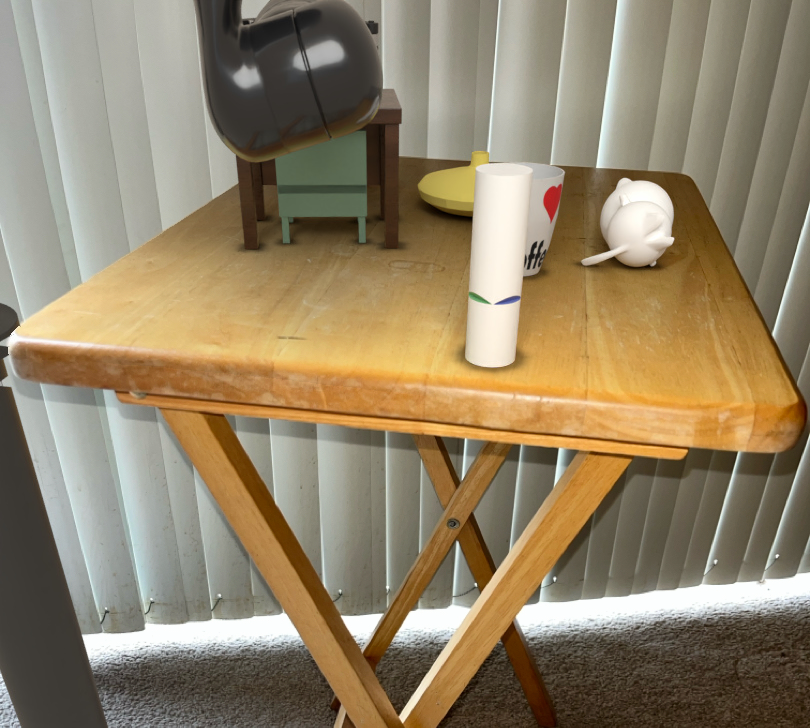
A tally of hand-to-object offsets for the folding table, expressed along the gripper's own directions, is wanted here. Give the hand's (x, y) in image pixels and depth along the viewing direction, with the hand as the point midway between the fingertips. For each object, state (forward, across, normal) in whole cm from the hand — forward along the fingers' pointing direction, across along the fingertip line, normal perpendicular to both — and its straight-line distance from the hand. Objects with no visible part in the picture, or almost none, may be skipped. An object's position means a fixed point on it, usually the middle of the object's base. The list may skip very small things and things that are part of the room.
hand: (306, 28), depth 77 cm
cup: (0, -22, +22) cm, 31 cm away
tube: (-24, -15, +22) cm, 36 cm away
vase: (+23, -21, +22) cm, 38 cm away
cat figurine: (+2, -34, +22) cm, 41 cm away
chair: (+14, -1, +22) cm, 27 cm away
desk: (+14, 0, +22) cm, 26 cm away
